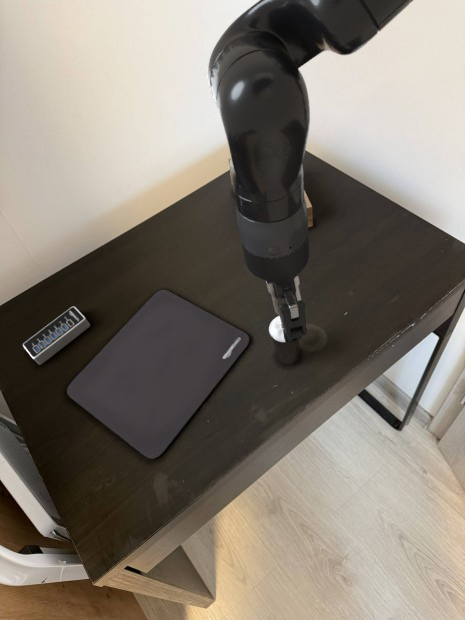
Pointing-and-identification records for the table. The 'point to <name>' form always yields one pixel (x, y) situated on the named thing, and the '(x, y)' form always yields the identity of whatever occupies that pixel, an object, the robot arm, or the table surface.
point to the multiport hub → (56, 335)
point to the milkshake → (283, 343)
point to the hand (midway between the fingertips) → (284, 313)
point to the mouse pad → (157, 371)
